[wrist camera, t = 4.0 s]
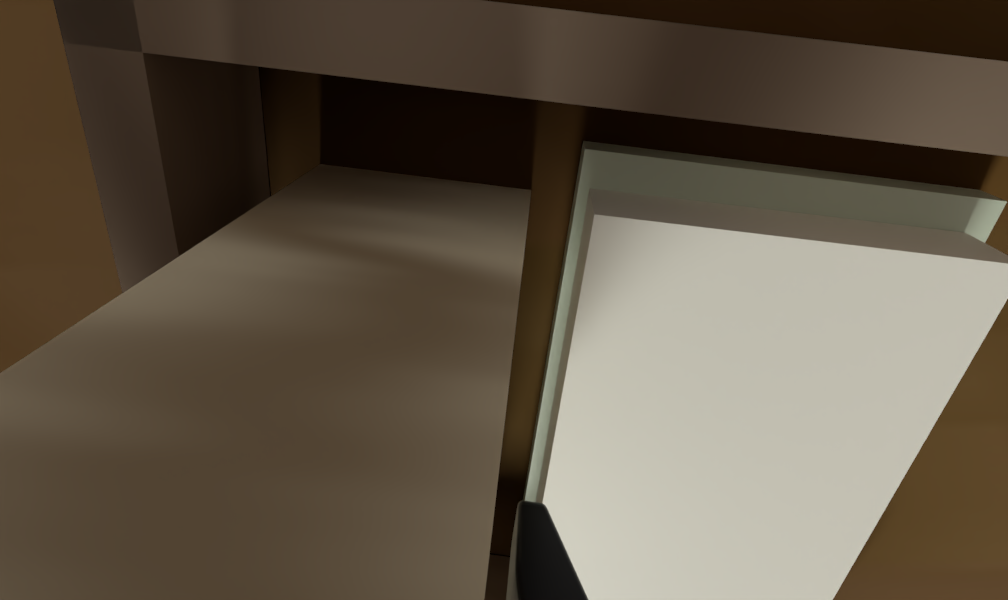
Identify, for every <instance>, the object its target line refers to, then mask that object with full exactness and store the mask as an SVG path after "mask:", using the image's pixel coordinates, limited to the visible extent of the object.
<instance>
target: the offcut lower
mask: <svg viewBox="0 0 1008 600" xmlns="http://www.w3.org/2000/svg"><path fill="white" fill-rule="evenodd" d="M589 188H591V189H600V190H608V191H617V192H625V193H634V194H642V195H651V196H659V197H668V198H676V199H685V200H693V201H702V202H710V203H719V204H727V205H736V206H744V207H753V208H761V209H770V210H778V211H787V212H795V213H804V214H812V215H821V216H829V217H838V218H846V219H855V220H863V221H872V222H880V223H889V224H897V225H906V226H914V227H923V228H931V229H940V230H948V231H957V232H965V233H967V234H969V235H971V236H973V237H974V238H976V239H978V240H980V241H982V242H984V243H985V242H986V240H987V238H988V236H989V234H990V232H991V230H992V229H993V227H994V225H995V223H996V221H997V219H998V218H999V216H1000V214H1001V212H1002V210H1003V208H1004V206H1005V205H1006V203H1007V201H1005V200H1002V199H1000V198H998V197H995V196H993V195H991V194H988V193H986V192H984V191H981V190H977V189H969V188H961V187H953V186H945V185H937V184H928V183H920V182H912V181H904V180H896V179H888V178H880V177H872V176H864V175H856V174H848V173H840V172H832V171H824V170H816V169H808V168H799V167H791V166H783V165H775V164H767V163H759V162H751V161H743V160H735V159H727V158H719V157H711V156H703V155H695V154H687V153H679V152H671V151H662V150H654V149H646V148H638V147H630V146H622V145H614V144H606V143H598V142H590V141H583V144H582V150H581V156H580V162H579V168H578V174H577V180H576V186H575V192H574V198H573V204H572V210H571V216H570V222H569V227H568V233H567V239H566V245H565V251H564V257H563V263H562V269H561V275H560V281H559V287H558V293H557V299H556V305H555V311H554V317H553V322H552V328H551V334H550V340H549V346H548V352H547V358H546V364H545V370H544V376H543V382H542V388H541V394H540V400H539V406H538V412H537V417H536V423H535V429H534V435H533V441H532V447H531V453H530V459H529V465H528V471H527V477H526V483H525V489H524V495H523V500H524V501H531V502H536V496H537V490H538V484H539V479H540V473H541V467H542V461H543V455H544V449H545V444H546V438H547V432H548V426H549V420H550V415H551V409H552V403H553V397H554V391H555V385H556V380H557V374H558V368H559V362H560V356H561V350H562V345H563V339H564V333H565V327H566V321H567V315H568V310H569V304H570V298H571V292H572V286H573V281H574V275H575V269H576V263H577V257H578V251H579V246H580V240H581V234H582V228H583V222H584V216H585V211H586V205H587V199H588V193H589Z"/></svg>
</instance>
